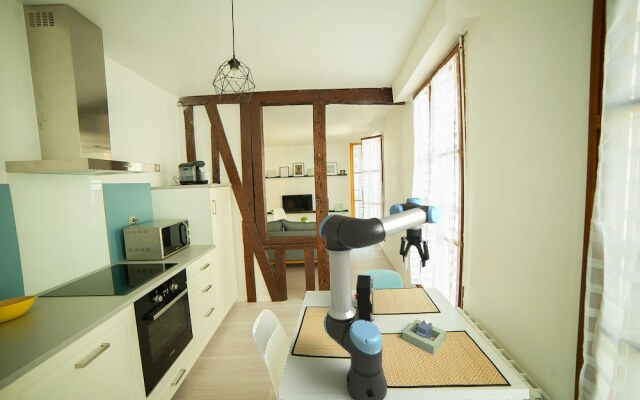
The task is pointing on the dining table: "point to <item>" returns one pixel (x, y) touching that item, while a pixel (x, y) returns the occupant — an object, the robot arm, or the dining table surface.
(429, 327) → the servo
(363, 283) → the electrical component
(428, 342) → the green tray
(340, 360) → the dining table surface
